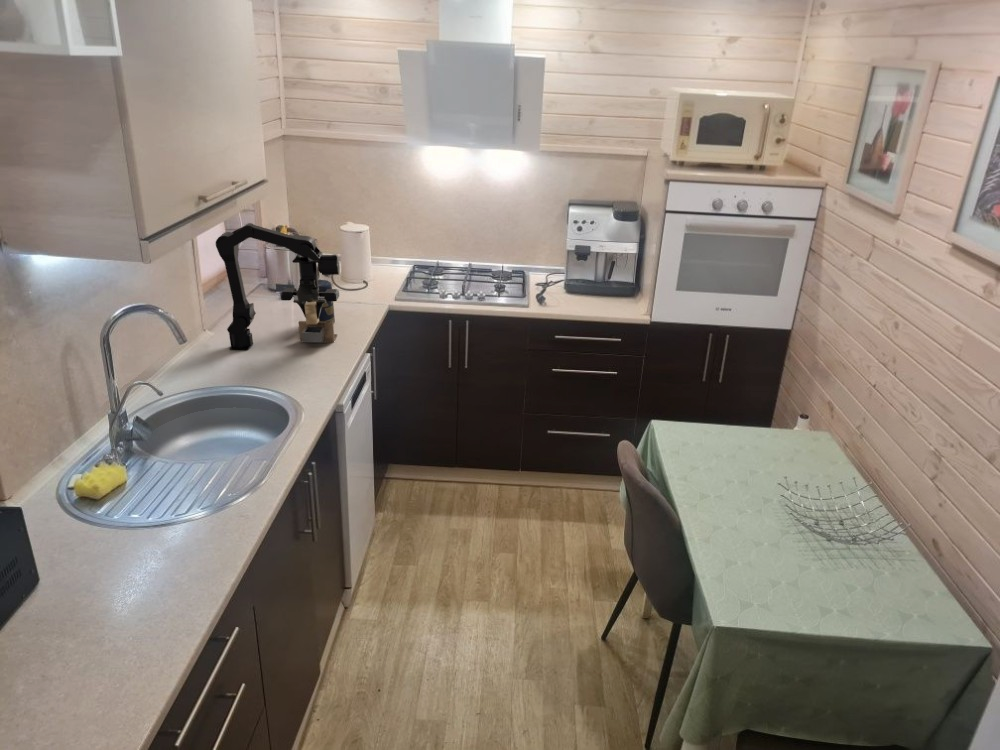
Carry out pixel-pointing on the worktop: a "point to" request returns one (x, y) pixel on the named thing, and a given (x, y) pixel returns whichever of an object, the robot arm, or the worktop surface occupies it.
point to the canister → (327, 307)
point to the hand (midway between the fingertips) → (312, 318)
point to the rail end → (311, 313)
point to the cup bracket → (317, 332)
